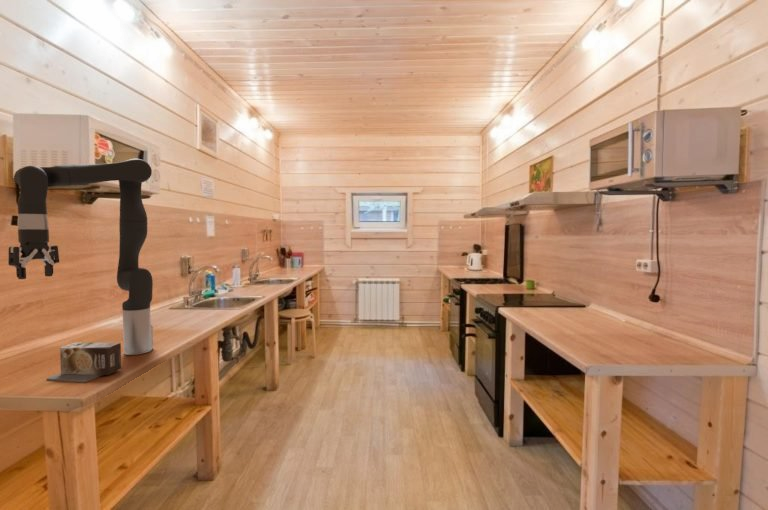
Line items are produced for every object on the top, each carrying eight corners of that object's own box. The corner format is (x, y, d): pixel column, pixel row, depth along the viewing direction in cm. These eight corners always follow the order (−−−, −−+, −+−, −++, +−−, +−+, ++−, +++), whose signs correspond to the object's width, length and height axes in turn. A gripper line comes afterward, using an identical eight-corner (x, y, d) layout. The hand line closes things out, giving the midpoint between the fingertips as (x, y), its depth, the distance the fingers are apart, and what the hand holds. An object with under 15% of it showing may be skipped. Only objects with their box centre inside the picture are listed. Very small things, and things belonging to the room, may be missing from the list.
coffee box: (58, 347, 127) (107, 347, 126) (74, 342, 133) (120, 341, 133) (60, 375, 127) (108, 375, 127) (76, 368, 134) (122, 368, 133)
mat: (86, 365, 138) (85, 363, 138) (121, 367, 136) (121, 365, 136) (46, 380, 124) (46, 378, 124) (85, 382, 122) (85, 380, 122)
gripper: (20, 228, 120) (22, 280, 121) (64, 228, 134) (66, 275, 135) (-1, 228, 121) (2, 280, 122) (45, 228, 135) (47, 275, 136)
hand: (35, 277), depth 129 cm, fingers open, 8 cm apart
